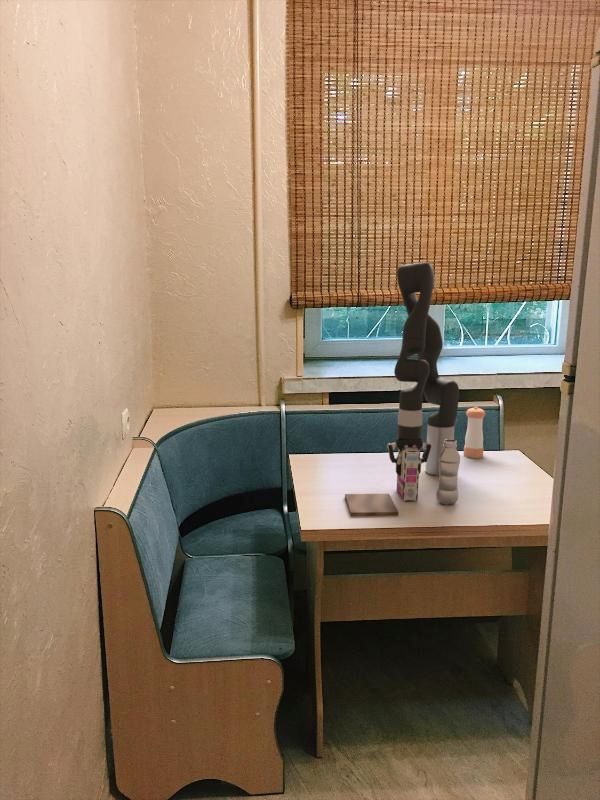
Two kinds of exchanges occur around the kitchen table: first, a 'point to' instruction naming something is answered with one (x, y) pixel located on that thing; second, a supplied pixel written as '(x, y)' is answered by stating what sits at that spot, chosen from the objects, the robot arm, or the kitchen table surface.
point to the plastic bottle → (448, 473)
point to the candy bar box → (409, 474)
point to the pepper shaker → (474, 433)
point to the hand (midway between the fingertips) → (407, 474)
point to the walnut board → (371, 505)
